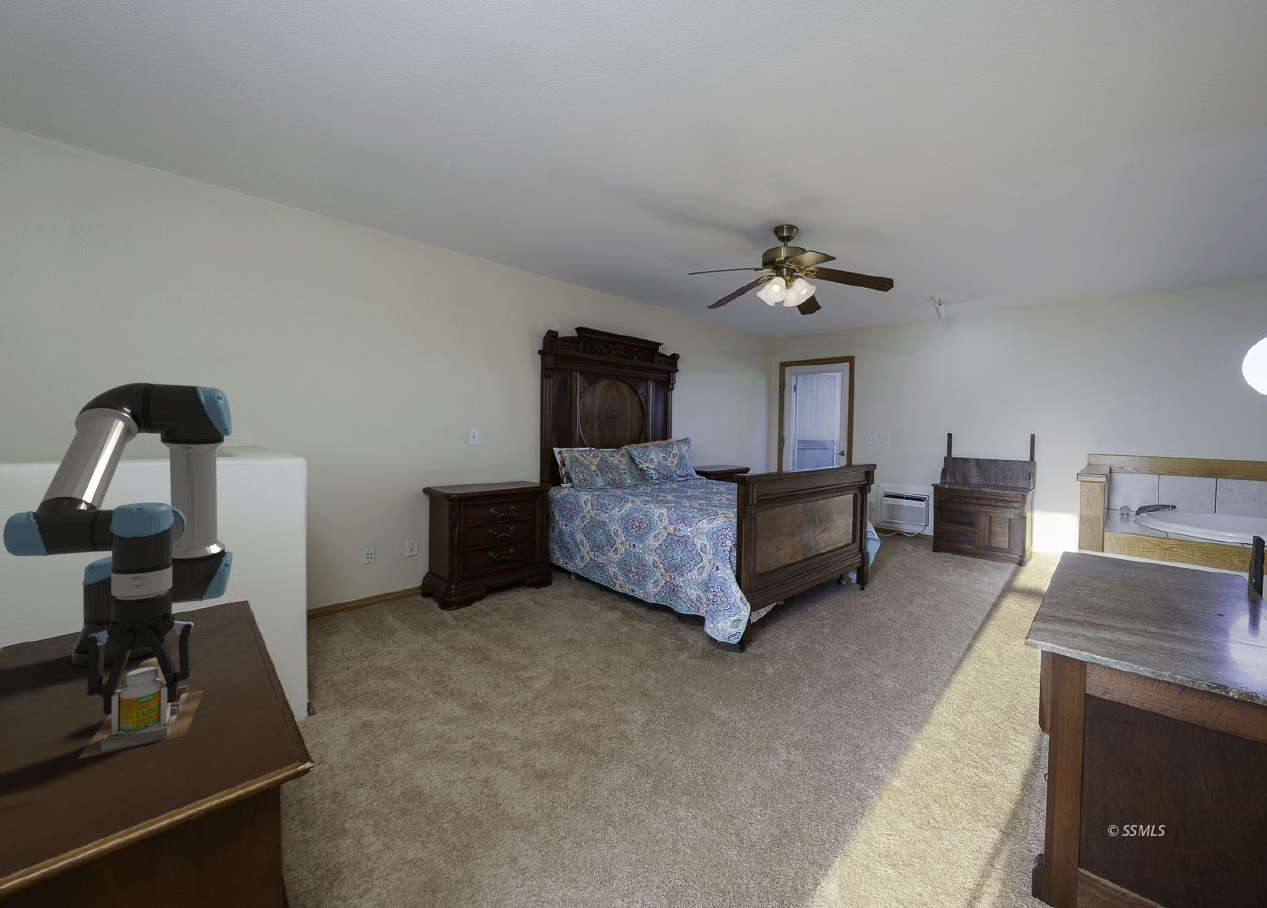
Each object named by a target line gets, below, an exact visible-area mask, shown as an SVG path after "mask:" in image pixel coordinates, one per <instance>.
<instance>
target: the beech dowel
mask: <svg viewBox="0 0 1267 908" xmlns="http://www.w3.org/2000/svg"><path fill="white" fill-rule="evenodd" d="M146 667H156V668H157V669H158V677H157V678H156V679H160V680H161V681H162V682H163V684H164V682H166V681H165V679H164V676H163V674H162V671H161V669H160V666H159V664H158V661H157V659H156V657H152V658H148V659H146V660H143V661H141V662H139V664H138V669H140V668H146ZM171 703H172V702H171Z"/></svg>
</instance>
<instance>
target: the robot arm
mask: <svg viewBox="0 0 1267 908" xmlns="http://www.w3.org/2000/svg"><path fill="white" fill-rule="evenodd" d="M80 409H81V410H80V411H79V413H78V415H76V416H77V417H75V420H74V427H75V429H76V433H75V435H74V437H73V439H72V441H71V443H70V445H69V446H68V449H67V451H66V452H65V454H64V456H63V459H62V460H61V462H60V465H59V467H58V468H57V470H56V472H55V474H54V476H53V477H52V480H51V482H50V484H49V486H48V487H47V489H46V492H45V493H44V495H43V497H42V500H41V502H39V505H38V508H37V510H36V511H32V510H29V511H24V512H16V513H14V514H13V515H11V516H10V517H8V519H7V520H6V523H5V525H4V527H3V534H2V535H3V537H2V538H3V544H4V548H5V549H6V551H7V553H9V554H10V555H12V556H15V557H49V556H55V555H56V556H57V555H66V554H67V555H68V554H71V555H72V554H83V553H93V552H94V553H96V552H101V553H102V552H111V555H110V556H108V557H107V556H106V557H103V558H100V559H97V560H94V561H92V562H91V563H89V564H87V565H86V567H85V568H84V571H83V573H84V574H83V581H82V583H81V584H82V586H83V587H82V588H83V589H82V590H83V592H82V596H83V597H82V598H83V599H82V600H83V605H82V606H83V608H82V609H83V627H82V628H81V631H80V634H79V636H78V637H77V640H76V642H75V645H74V647H73V649H72V653H71V663H72V664H74V665H76V666H81V667H88V669H87V670H88V671H87V686H86V687H87V688H86V693H87V694H86V695H88V696H89V697H90V696H91V697H92V696H95V695H96V696H101V697H102V700H103V701H102V702H103V705H102V707H103V708H102V710H103V714H104V715H106V716H107V715H110V714H112V735H114V734H118V733H119V731H120V692H121V690H122V689H123V688H121V689H117V688H118V687H119V683H120V680H121V678H122V675H123V672H124V670H125V667H126V665H127V662H128V661H130V660H135V659H138V658H141V657H143V656H146V655H147V656H148V654H151V653H153V654H154V656H155V658H156V659H157V661H158V664H159V666H160V669H161V671H162V674H163V676H164V679H165V681H166V682H164V684H163V686H162V687H161V725H163V724H166V723H167V721H168V719H169V718H170V703H171V702H175V700H176V698H177V696H178V687H179V683H180V682H181V681H185V680H187V679H189V677H190V675H191V673H192V672H193V667H192V663H193V662H192V645H191V643H192V640H191V639H192V638H191V632H192V631H193V628H194V625H195V622H194V620H187V621H179V620H176V618H175V616H174V615H173V604H180V603H181V604H182V603H190V602H191V603H192V602H204V601H207V600H212V599H219V598H220V597H222V596H224V594H225V593H226V590H227V587H228V584H229V580H230V579H229V578H230V573H231V570H232V569H231V567H232V563H233V552H231V551H229V550H227V551H226V546H225V543H223V542H222V541H220V540H219V539H218V501H217V500H218V499H217V498H218V497H217V496H218V495H217V493H218V491H217V489H218V488H217V480H218V479H217V448H219V447H220V446H221V445H222V444H224V443H225V437H227V436H231V434H232V431H233V427H232V426H233V425H232V416H231V411H230V405H229V400H228V397H227V395H226V394H225V392H224V391H223V390H222V389H219V388H216V387H208V386H201V385H184V384H182V385H181V384H166V383H165V384H164V383H162V384H161V383H151V382H150V383H149V382H133V383H126V384H122V385H119V386H115V387H113V388H110V389H107V390H106V391H104V392H102V393H101V394H98V395H97V396H95V397H94V398H93V399H91V400H89V401H88V402H87V403H86V404H85V405H84V406H83V407H82V408H80ZM138 434H153V435H154V434H157V435H158V434H159V435H160V443H161V444H163V446H166V447H167V448H168V449H169V472H170V473H169V476H170V478H169V480H170V481H169V482H170V504H169V503H165V502H138V503H137V502H136V503H127V504H120V505H118V506H116V507H114V509H101V507H102V506H103V502H104V499H105V498H106V494H107V492H108V489H109V487H110V486H111V483H112V480H113V477H114V476H115V472H116V470H117V467H118V465H119V462H120V461H121V458H122V455H123V453H124V452H125V451H124V450H125V448H126V445H127V444H128V442H131V441H132V440H134V439H135V438H136V437H137V435H138ZM172 629H174V630H175V634H176V635H177V636H179V637H178V655H179V657H178V659H179V671H178V670H177V668H176V665H175V663H174V660H173V657H172V655H171V652H170V650H169V648H168V645H167V640H166V636H167V635H168V633H170V631H171V630H172ZM104 665H112V668H111V669H110V673H109V675H108V678H107V679H106V680H107V681H106V683H103V682H104Z"/></svg>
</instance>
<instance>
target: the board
mask: <svg viewBox="0 0 1267 908" xmlns="http://www.w3.org/2000/svg"><path fill="white" fill-rule="evenodd" d="M204 692H205V689H201V690H195V691H190V692H189V685H188V684H185V685H180V686H178V696H177V698H176V700H175V702H172V703H170V718H169V719H168V721H167V723H166V724H163V725H161V724H160V725H158V726H157V727H155V728H153V729H149V730H144V731H140V732H135V733H130V734H125V735H124V734H121V733H120V731H119V733H118V734H114V735H112V714H108V716H107V718H105V720H104V722H103V723H101V726H100V727H99V728H98V730H97V732H96V733H94V736H93V737H92V738H91V740H90V741H89V743H87V745H86V747H85V748H84V749H83V751H82V752H81V754H80V755H79V757H78V758H77V760H80V759H86V758H89V757H94V756H99V755H103V754H107V753H112V752H117V751H122V750H125V749H130V748H131V749H132V748H137V747H139V746H144V745H149V744H153V743H158V742H163V741H168V740H172V739H178V738H181V737H182V738H183V737H185V736H186V735H187V733H188V730H189V728H190V725H191V723H192V721H193V719H194V716H195V713H196V711H197V710H198V707H199V705H200V702H201V700H202V697H203V695H204Z"/></svg>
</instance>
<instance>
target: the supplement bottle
mask: <svg viewBox="0 0 1267 908" xmlns="http://www.w3.org/2000/svg"><path fill="white" fill-rule="evenodd" d="M157 677H158V669H157V668H156V667H146V668H140V669H139V668H138V669H134V670H131V671H129V672H128V673H127V674H125V686H124V687H123V688H121V689H122V690H121V692H120V733H121V734H124V735H125V734H130V733H135V732H140V731H144V730H149V729H153V728H155V727H157V726H158V725H160V724H161V687H162V686H163V682H162V681H161V680H160V679H156V678H157Z"/></svg>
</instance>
